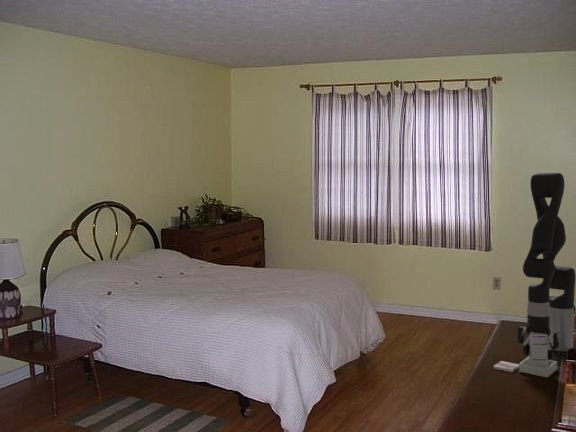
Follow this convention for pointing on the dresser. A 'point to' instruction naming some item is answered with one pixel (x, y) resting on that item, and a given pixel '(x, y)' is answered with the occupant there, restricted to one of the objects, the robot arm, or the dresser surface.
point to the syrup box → (538, 350)
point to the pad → (506, 366)
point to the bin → (537, 368)
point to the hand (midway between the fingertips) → (538, 357)
